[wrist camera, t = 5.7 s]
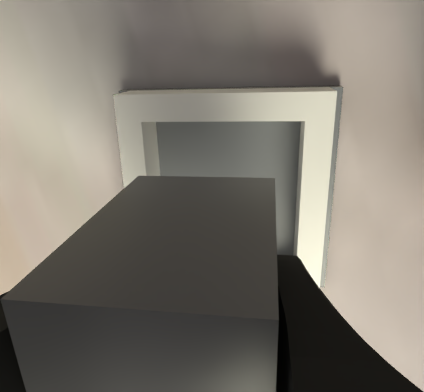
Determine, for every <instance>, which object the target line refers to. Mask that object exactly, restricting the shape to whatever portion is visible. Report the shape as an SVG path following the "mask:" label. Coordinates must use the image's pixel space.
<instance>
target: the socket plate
mask: <svg viewBox="0 0 424 392" xmlns="http://www.w3.org/2000/svg"><path fill="white" fill-rule="evenodd" d="M342 94H343V87H342V86H309V87H254V88H200V89H145V90H120V91H119V93H118V94H114V95H113V101H114V110H115V118H116V126H117V135H118V143H119V151H120V160H121V168H122V176H123V185H124V188H125V187H126V186H127V185H129V184H130V183H131V182H132V181H133V180H134V179H135V178H136V177H137V176H189V177H249V178H275V199H276V236H277V255H295V256H298V257H299V258H300V259H301V261H302V263H303V264H304V266H305V268H306V269H307V271H308V272H309V274H310V275H311V277H312V278H313V280H314V281H315V283H316V284H317V285H318V287H319V288H320V287H325V277H326V266H327V255H328V244H329V234H330V223H331V212H332V201H333V191H334V180H335V169H336V158H337V148H338V137H339V126H340V115H341V105H342Z"/></svg>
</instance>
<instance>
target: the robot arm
mask: <svg viewBox="0 0 424 392" xmlns="http://www.w3.org/2000/svg"><path fill="white" fill-rule="evenodd" d="M277 272H278V309H279V327H278V351H277V376H276V392H423V391H422V390H420V389H419V388H418V387H417V386H415V385H414V384H413V383H412V382H410V381H409V380H408V379H407V378H405V377H404V376H403V375H402V374H401V373H399V372H398V371H397V370H396V369H395V368H394V367H392V366H391V365H390V364H389V363H388V362H387V361H386V360H384V359H383V358H382V357H381V356H380V355H379V354H378V353H377V352H376V351H375V350H374V349H373V348H372V347H371V346H369V345H368V344H367V343H366V342H365V341H364V340H363V339H362V338H361V337H360V336H359V335H358V333H357V332H356V331H355V330H354V329H353V328H352V327H351V326H350V325H349V324H348V322H347V321H346V320H345V319H344V318H343V317H342V316H341V315H340V313H339V312H338V311H337V310H336V309H335V307H334V306H333V305H332V304H331V302H330V301H329V300H328V299H327V297H326V296H325V295H324V293H323V292H322V291H321V290H320V288H319V287H318V285H317V284H316V283H315V281H314V280H313V278H312V277H311V275H310V274H309V272H308V271H307V269H306V268H305V266H304V264H303V263H302V261H301V259H300V258H299V257H298V256H295V255H277ZM8 292H9V291H8ZM8 292H6V293H4V294H2V295H0V299H1V298H2V297H3V296H5V295H6V294H7V293H8ZM0 392H26V389H25V386H24V382H23V379H22V375H21V371H20V368H19V364H18V361H17V357H16V354H15V350H14V346H13V343H12V339H11V336H10V332H9V328H8V325H7V321H6V318H5V314H4V311H3V307H2V303H1V300H0Z"/></svg>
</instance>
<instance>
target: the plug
mask: <svg viewBox="0 0 424 392" xmlns="http://www.w3.org/2000/svg"><path fill="white" fill-rule="evenodd" d="M0 300H1V303H2V307H3V311H4V314H5V318H6V321H7V325H8V328H9V332H10V336H11V339H12V343H13V346H14V350H15V354H16V357H17V361H18V364H19V368H20V371H21V375H22V379H23V382H24V386H25V389H26V392H276V376H277V351H278V327H279V309H278V272H277V236H276V199H275V178H249V177H189V176H137V177H136V178H135V179H134V180H133V181H132V182H131V183H130V184H129V185H127V186H126V187H125V188H124V189H123V190H122V191H121V192H120V193H118V194H117V195H116V196H115V197H114V198H113V199H112V200H111V201H110V202H108V203H107V204H106V205H105V206H104V207H103V208H102V209H101V210H99V211H98V212H97V213H96V214H95V215H94V216H93V217H92V218H91V219H89V220H88V221H87V222H86V223H85V224H84V225H83V226H82V227H80V228H79V229H78V230H77V231H76V232H75V233H74V234H73V235H72V236H70V237H69V238H68V239H67V240H66V241H65V242H64V243H63V244H62V245H60V246H59V247H58V248H57V249H56V250H55V251H54V252H53V253H51V254H50V255H49V256H48V257H47V258H46V259H45V260H44V261H43V262H41V263H40V264H39V265H38V266H37V267H36V268H35V269H34V270H32V271H31V272H30V273H29V274H28V275H27V276H26V277H25V278H24V279H22V280H21V281H20V282H19V283H18V284H17V285H16V286H15V287H13V288H12V289H11V290H10V291H9V292H8V293H7V294H6V295H5V296H3V297H2V298H1V299H0Z"/></svg>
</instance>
